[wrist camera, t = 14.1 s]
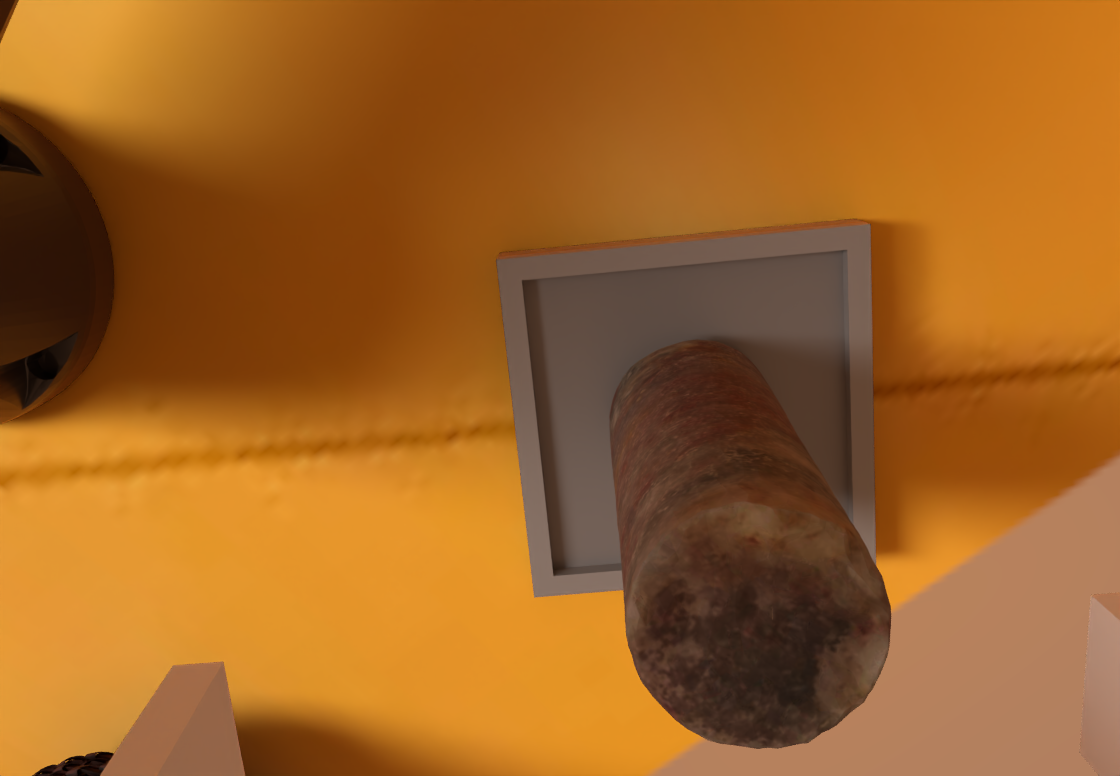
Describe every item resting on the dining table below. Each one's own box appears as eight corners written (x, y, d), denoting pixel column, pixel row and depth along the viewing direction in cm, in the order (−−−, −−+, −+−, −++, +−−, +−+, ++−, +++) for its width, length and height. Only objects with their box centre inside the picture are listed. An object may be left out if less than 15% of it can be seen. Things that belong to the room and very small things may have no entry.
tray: (535, 575, 50) (534, 597, 47) (499, 252, 45) (496, 259, 43) (862, 548, 49) (875, 568, 47) (855, 218, 45) (870, 224, 43)
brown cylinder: (629, 509, 47) (670, 783, 28) (581, 364, 45) (590, 548, 26) (787, 462, 46) (944, 710, 27) (746, 313, 44) (881, 463, 25)
